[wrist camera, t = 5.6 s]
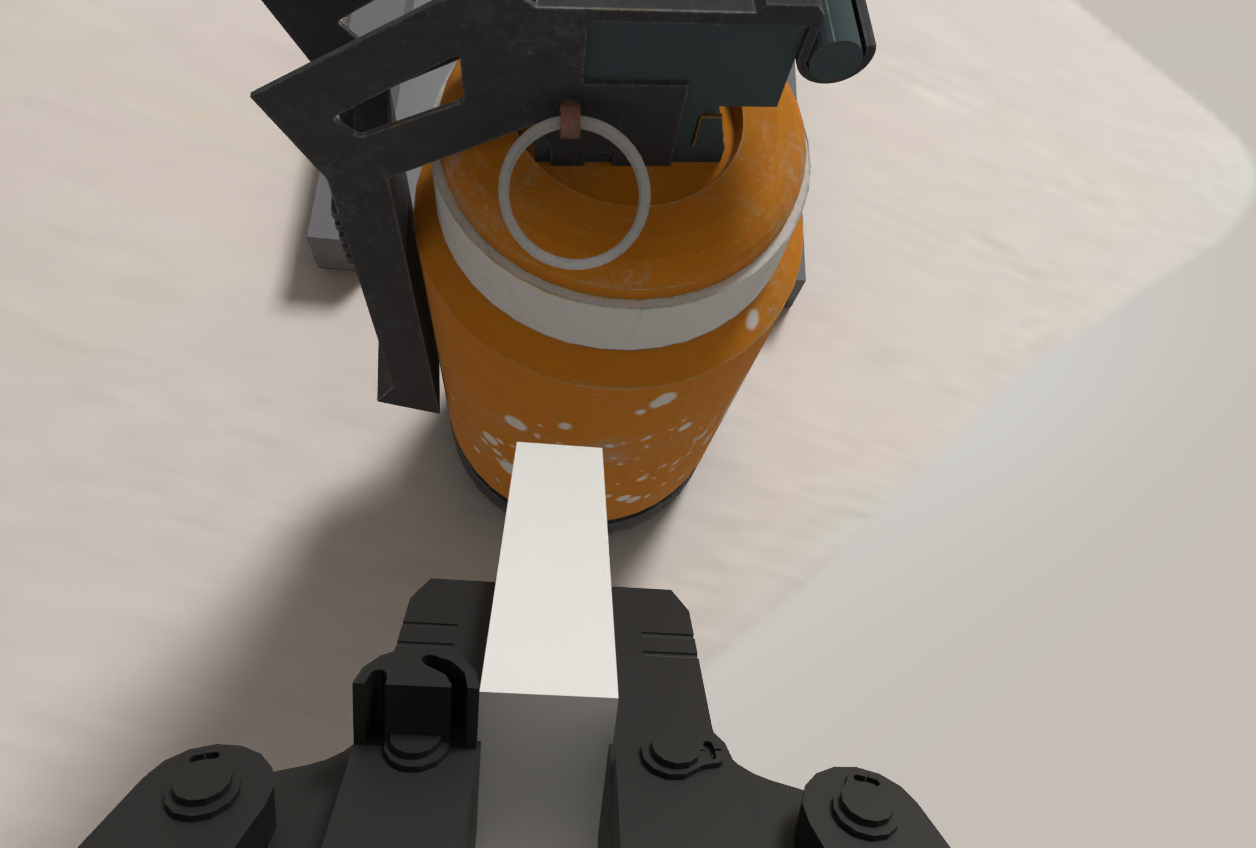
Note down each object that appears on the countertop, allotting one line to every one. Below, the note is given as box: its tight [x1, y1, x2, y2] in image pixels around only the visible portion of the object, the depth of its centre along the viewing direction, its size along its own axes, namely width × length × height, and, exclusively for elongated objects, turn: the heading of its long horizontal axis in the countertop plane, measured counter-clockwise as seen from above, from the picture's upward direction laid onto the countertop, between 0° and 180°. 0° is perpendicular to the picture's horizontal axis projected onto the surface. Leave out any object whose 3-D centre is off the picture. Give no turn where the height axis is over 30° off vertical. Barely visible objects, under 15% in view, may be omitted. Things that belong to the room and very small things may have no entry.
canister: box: [250, 0, 876, 533], centre depth 23 cm, size 9×11×20 cm
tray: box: [307, 0, 806, 307], centre depth 37 cm, size 18×18×2 cm
